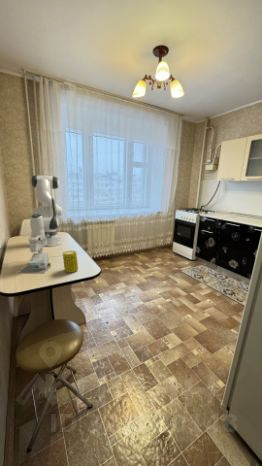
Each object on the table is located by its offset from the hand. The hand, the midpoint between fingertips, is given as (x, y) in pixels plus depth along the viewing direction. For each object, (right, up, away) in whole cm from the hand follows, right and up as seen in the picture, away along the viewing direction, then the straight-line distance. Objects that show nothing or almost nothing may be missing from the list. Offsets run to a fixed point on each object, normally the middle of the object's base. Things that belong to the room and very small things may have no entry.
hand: (40, 253), depth 147 cm
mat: (0, -11, -7) cm, 13 cm away
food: (+26, -11, -7) cm, 29 cm away
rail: (0, -9, 0) cm, 9 cm away
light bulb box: (+1, -2, 0) cm, 2 cm away
